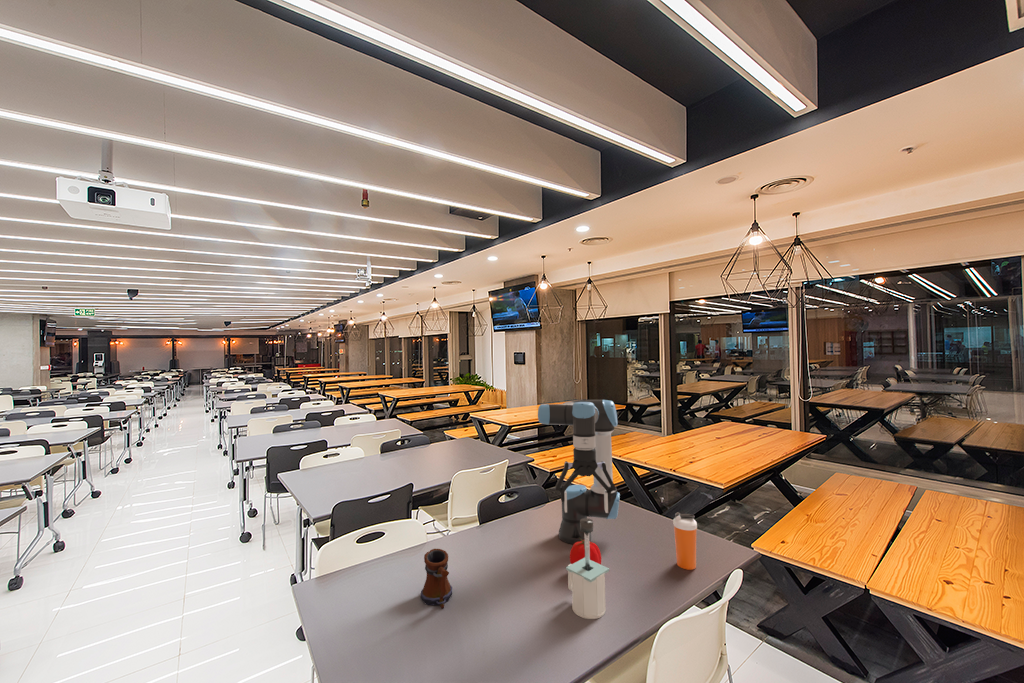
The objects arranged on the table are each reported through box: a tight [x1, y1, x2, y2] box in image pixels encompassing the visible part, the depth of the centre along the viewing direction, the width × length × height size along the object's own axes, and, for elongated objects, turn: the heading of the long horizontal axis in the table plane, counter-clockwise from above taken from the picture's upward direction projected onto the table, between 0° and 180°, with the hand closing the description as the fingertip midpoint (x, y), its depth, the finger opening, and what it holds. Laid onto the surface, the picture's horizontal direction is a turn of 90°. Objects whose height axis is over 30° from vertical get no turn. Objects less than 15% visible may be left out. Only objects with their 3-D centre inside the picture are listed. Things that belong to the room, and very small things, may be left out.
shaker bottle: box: [672, 511, 698, 571], centre depth 162 cm, size 9×9×20 cm
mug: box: [420, 548, 453, 609], centre depth 141 cm, size 18×12×15 cm, turn 25°
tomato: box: [569, 539, 602, 565], centre depth 156 cm, size 12×12×13 cm
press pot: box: [565, 558, 610, 620], centre depth 136 cm, size 14×11×13 cm
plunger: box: [580, 517, 594, 571], centre depth 136 cm, size 8×8×18 cm
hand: (585, 511), depth 136 cm, fingers open, 13 cm apart
